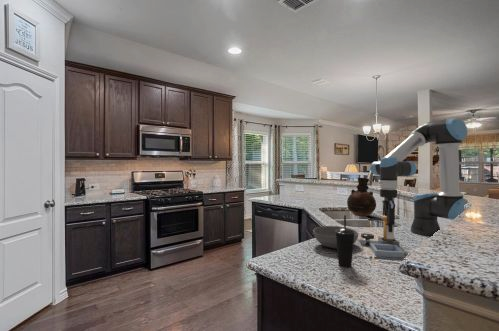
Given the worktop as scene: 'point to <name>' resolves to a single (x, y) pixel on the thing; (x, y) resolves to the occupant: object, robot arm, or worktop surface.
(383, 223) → the lock pin
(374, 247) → the tray
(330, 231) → the bowl
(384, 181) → the robot arm
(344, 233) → the drinking cup
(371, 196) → the ceramic vessel
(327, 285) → the worktop surface
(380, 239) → the tensioner plate
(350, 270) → the worktop surface
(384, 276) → the worktop surface
